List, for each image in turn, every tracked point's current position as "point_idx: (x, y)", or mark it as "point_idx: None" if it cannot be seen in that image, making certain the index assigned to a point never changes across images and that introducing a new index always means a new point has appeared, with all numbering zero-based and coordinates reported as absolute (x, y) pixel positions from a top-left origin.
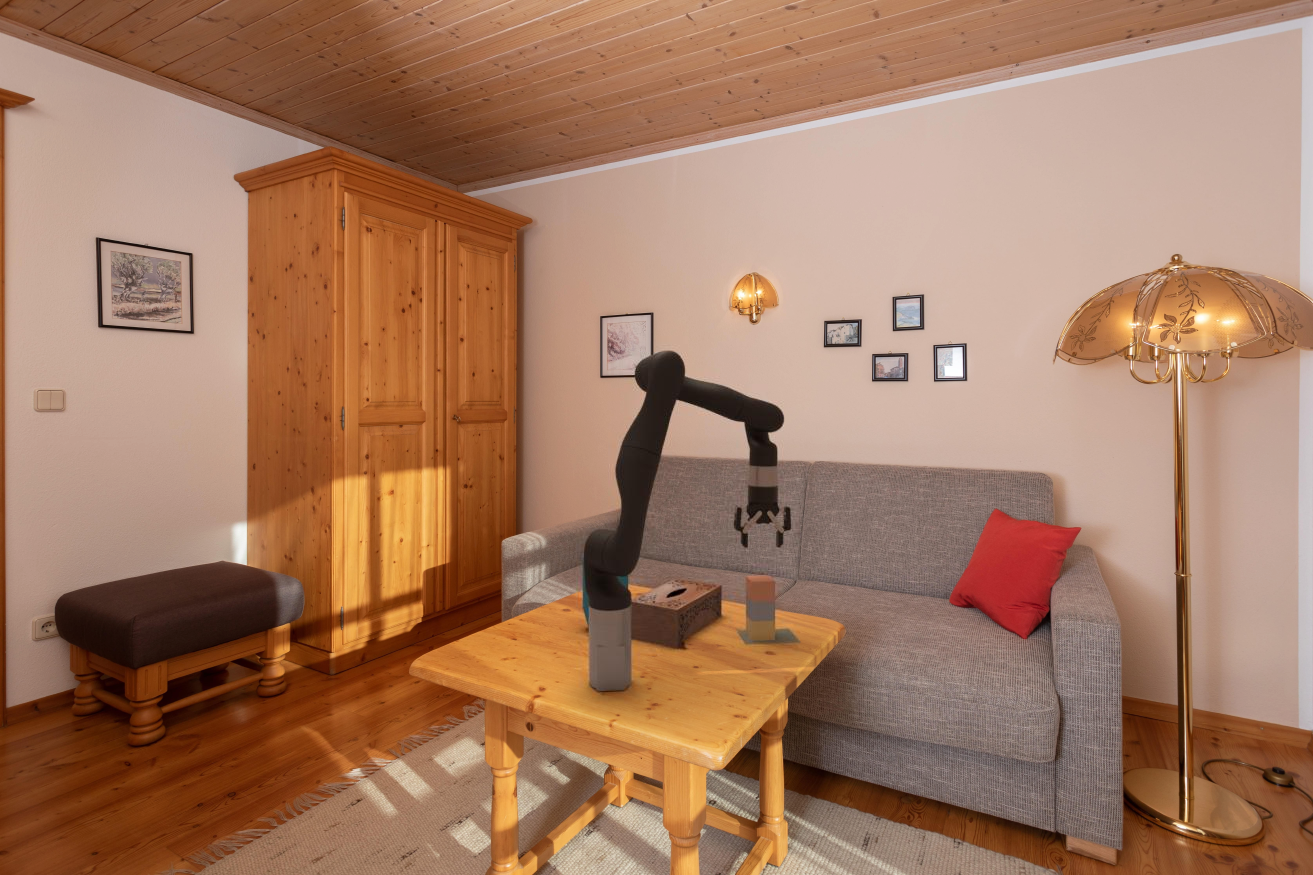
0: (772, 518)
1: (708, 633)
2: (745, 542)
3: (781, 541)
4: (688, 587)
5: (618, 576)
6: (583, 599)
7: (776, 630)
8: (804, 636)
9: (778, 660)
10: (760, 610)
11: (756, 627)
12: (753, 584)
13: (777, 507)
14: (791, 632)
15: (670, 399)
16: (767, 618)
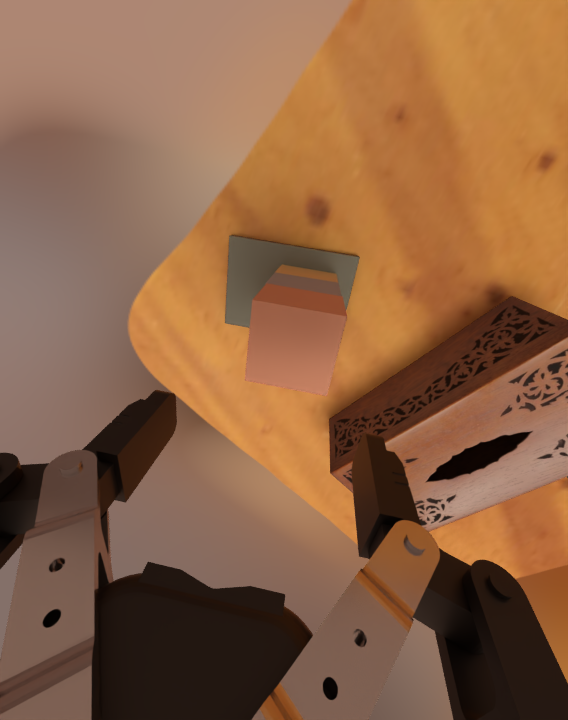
0: (63, 626)
1: (392, 360)
2: (386, 458)
3: (133, 414)
4: (419, 482)
5: None
6: None
7: None
8: (203, 289)
9: (320, 152)
10: (313, 285)
11: (325, 277)
12: (338, 312)
13: None
14: (227, 299)
15: None
16: (295, 277)
